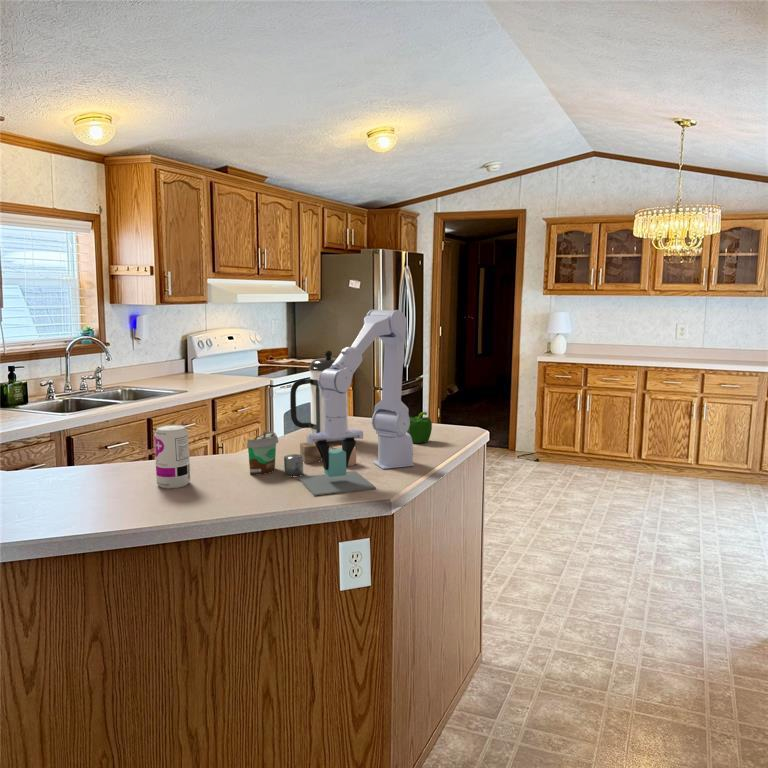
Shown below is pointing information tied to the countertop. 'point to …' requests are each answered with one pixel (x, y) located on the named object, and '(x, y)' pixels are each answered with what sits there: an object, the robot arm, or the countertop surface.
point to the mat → (335, 483)
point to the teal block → (336, 463)
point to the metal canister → (293, 465)
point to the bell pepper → (420, 428)
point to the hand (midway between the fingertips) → (335, 467)
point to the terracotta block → (352, 457)
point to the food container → (262, 453)
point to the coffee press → (314, 395)
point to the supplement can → (172, 456)
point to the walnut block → (309, 452)
